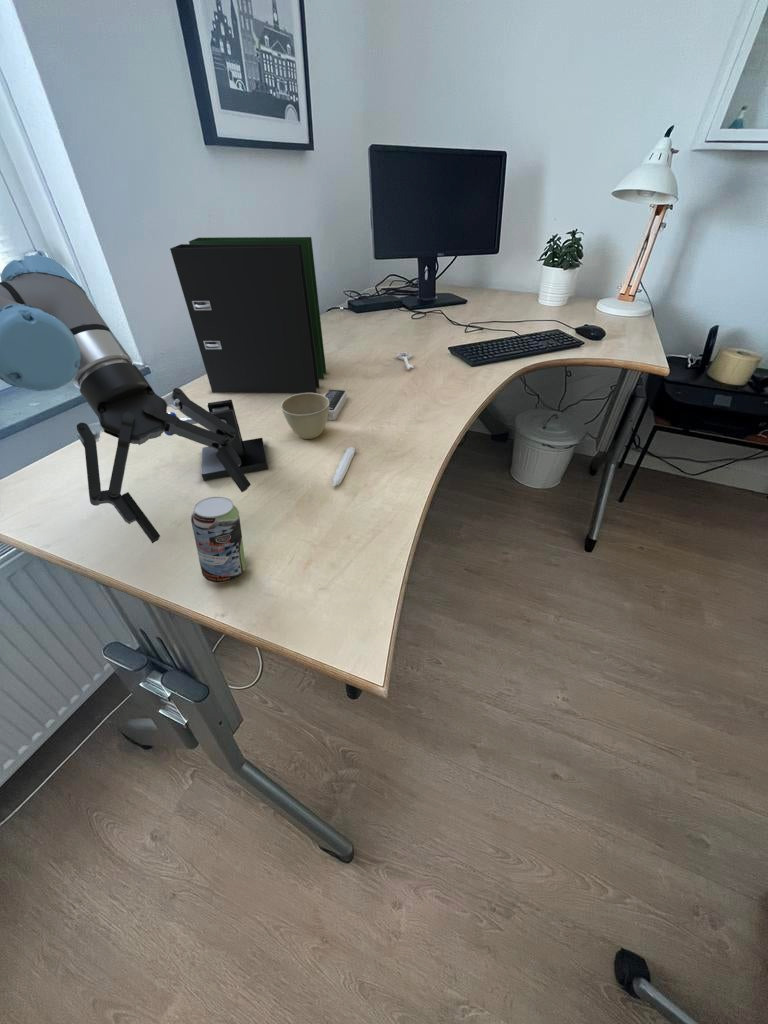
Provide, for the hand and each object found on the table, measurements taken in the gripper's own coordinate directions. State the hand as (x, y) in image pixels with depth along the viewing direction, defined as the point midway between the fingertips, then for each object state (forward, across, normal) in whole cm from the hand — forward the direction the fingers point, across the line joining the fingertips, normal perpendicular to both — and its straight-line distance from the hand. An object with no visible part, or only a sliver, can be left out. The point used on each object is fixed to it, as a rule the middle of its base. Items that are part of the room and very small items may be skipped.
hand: (204, 512), depth 58 cm
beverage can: (+8, 0, -6) cm, 11 cm away
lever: (-17, -14, -19) cm, 29 cm away
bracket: (-9, -18, -23) cm, 30 cm away
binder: (-26, -46, -41) cm, 67 cm away
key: (-12, -79, -27) cm, 84 cm away
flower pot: (-6, -34, -21) cm, 41 cm away
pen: (+5, -29, -10) cm, 31 cm away
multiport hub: (-9, -46, -24) cm, 52 cm away
